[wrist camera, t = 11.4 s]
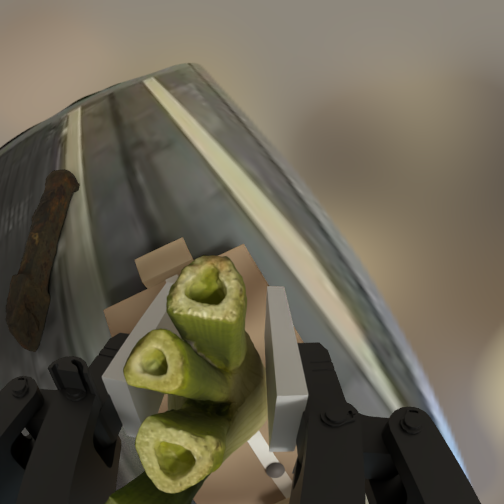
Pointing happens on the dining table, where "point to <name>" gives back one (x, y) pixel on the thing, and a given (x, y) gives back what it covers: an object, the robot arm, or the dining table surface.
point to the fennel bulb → (196, 385)
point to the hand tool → (39, 262)
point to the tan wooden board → (257, 448)
